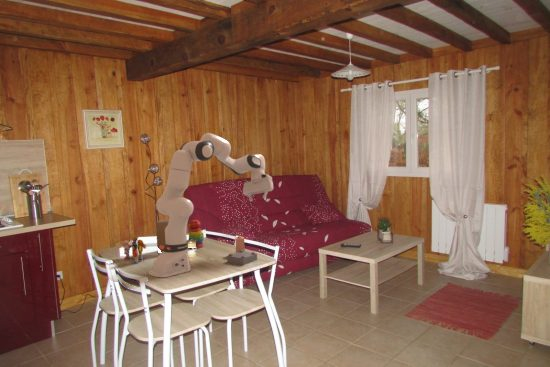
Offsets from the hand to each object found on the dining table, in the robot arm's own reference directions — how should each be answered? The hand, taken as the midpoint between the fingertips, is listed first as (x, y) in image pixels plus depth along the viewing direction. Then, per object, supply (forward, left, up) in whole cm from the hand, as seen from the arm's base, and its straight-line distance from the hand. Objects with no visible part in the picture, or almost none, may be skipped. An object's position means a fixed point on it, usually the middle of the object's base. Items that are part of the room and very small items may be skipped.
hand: (257, 199), depth 242 cm
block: (-32, +47, -32) cm, 65 cm away
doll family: (-53, +50, -32) cm, 79 cm away
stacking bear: (-14, +41, -32) cm, 54 cm away
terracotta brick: (-13, +4, -32) cm, 35 cm away
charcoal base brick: (-23, -6, -32) cm, 40 cm away
